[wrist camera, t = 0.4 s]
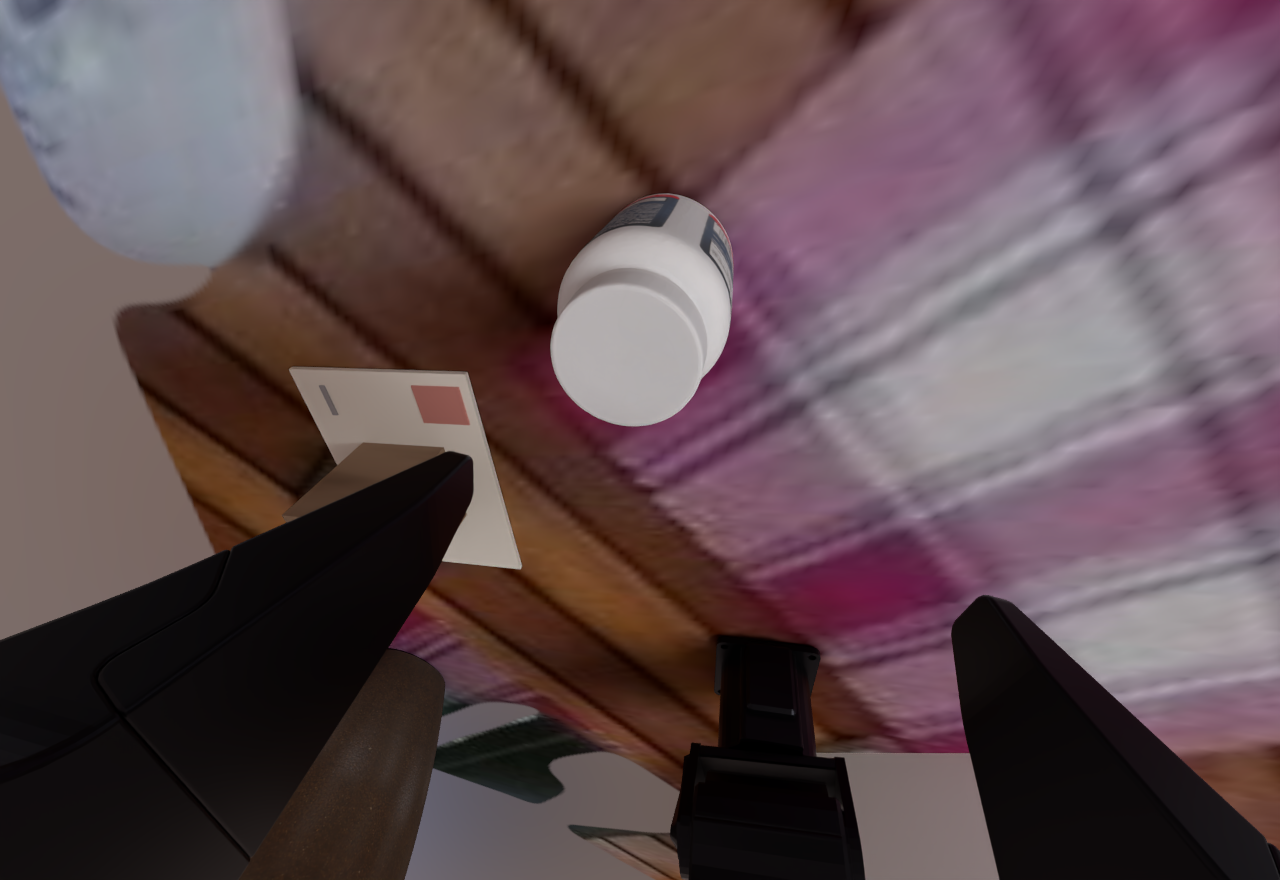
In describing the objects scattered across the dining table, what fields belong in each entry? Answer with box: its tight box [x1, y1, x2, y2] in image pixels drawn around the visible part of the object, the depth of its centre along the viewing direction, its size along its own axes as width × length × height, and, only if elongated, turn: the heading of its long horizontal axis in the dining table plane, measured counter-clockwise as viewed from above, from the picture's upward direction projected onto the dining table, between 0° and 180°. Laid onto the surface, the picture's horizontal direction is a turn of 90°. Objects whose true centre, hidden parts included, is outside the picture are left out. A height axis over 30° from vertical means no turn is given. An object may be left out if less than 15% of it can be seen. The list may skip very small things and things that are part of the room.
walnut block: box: [282, 442, 467, 528], centre depth 26 cm, size 5×5×6 cm
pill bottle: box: [550, 194, 733, 426], centre depth 16 cm, size 5×5×9 cm
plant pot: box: [239, 649, 445, 880], centre depth 37 cm, size 15×15×16 cm
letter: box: [289, 367, 522, 569], centre depth 29 cm, size 14×10×1 cm
